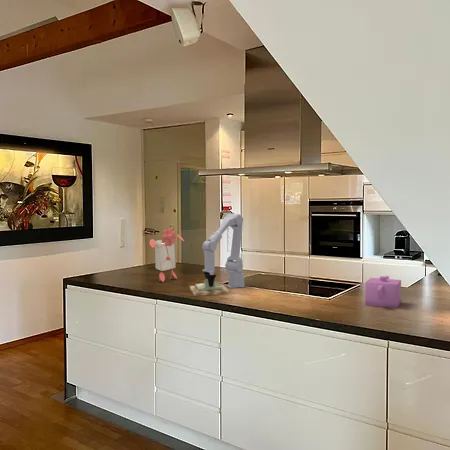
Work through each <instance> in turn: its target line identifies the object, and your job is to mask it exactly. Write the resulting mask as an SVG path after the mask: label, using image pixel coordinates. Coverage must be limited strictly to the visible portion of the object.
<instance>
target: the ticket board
mask: <svg viewBox="0 0 450 450" xmlns="http://www.w3.org/2000/svg"><path fill="white" fill-rule="evenodd" d="M219 285H221V286H222V289H217V290H200V291H198V289H197V287H202V286H205V282H203V283H194V285H189V289H190V292H191V293H192V295H193V296H194V297H196V296H197V297H198V296H200V297H201V296H210V295H211V296H214V295H226V294H227V295H229V294H230V290H229V288H227V286H225V285H224V284H223V283H221V284H220V283H219V282H215V286H219Z"/></svg>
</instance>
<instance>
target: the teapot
mask: <svg viewBox="0 0 450 450" xmlns="http://www.w3.org/2000/svg"><path fill="white" fill-rule="evenodd" d="M364 284H365V286H364V287H365V292H364V294H365V296H364V299H365V302H364V303H365V304H364V305H365V306H367V307H369V306H370V307H379V308H388V309H389V308H390V309H398V308H399V306H400V304H401V302H402V299H401V298H402V280H401V279H394V278H393V279H392V278H391V279H390V275H384V276H383V275H380V276H379V277H370V278H368V280H367V281H365V282H364Z"/></svg>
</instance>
